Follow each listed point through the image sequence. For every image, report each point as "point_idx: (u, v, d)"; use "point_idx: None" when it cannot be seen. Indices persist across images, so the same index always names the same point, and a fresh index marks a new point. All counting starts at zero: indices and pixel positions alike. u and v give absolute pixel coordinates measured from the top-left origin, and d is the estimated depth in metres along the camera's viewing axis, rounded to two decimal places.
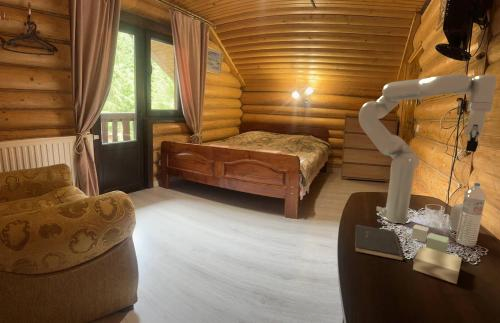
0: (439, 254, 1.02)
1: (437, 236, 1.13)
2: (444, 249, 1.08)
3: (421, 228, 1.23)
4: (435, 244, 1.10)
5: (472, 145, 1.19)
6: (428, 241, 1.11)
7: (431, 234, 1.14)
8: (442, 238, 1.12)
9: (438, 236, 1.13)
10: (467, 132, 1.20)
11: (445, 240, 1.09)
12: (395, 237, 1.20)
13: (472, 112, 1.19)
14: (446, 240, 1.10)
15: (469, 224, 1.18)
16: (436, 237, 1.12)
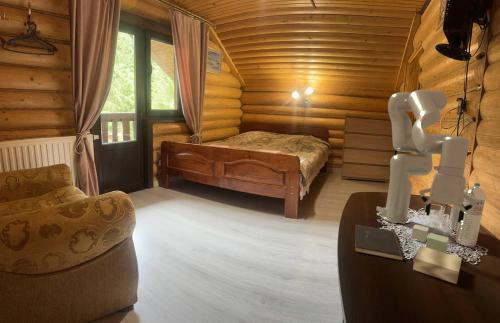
0: (439, 254, 1.02)
1: (437, 236, 1.13)
2: (444, 249, 1.08)
3: (421, 228, 1.23)
4: (435, 244, 1.10)
5: (463, 215, 1.06)
6: (428, 241, 1.11)
7: (431, 234, 1.14)
8: (442, 238, 1.12)
9: (438, 236, 1.13)
10: (462, 203, 1.04)
11: (445, 240, 1.09)
12: (395, 237, 1.20)
13: (464, 180, 1.03)
14: (446, 240, 1.10)
15: (469, 224, 1.18)
16: (436, 237, 1.12)
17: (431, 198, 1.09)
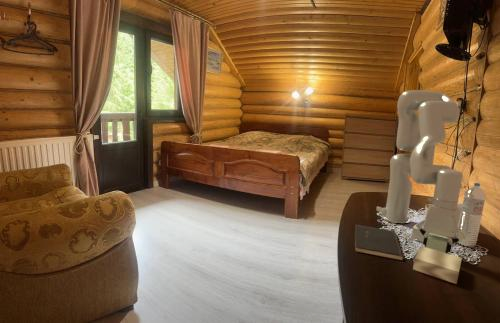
0: (439, 254, 1.02)
1: (437, 236, 1.13)
2: (444, 249, 1.08)
3: None
4: (435, 244, 1.10)
5: None
6: (428, 241, 1.11)
7: (431, 234, 1.14)
8: (442, 237, 1.11)
9: (438, 236, 1.13)
10: (455, 235, 1.06)
11: (445, 240, 1.09)
12: (395, 237, 1.20)
13: (457, 213, 1.06)
14: (446, 240, 1.10)
15: (469, 224, 1.18)
16: (436, 237, 1.12)
17: (425, 229, 1.12)
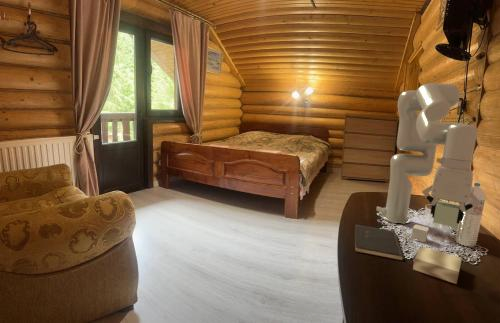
0: (439, 254, 1.02)
1: (447, 203, 0.98)
2: (455, 217, 0.93)
3: (421, 228, 1.23)
4: (445, 212, 0.95)
5: (463, 215, 0.95)
6: (437, 208, 0.96)
7: (440, 201, 0.99)
8: (453, 204, 0.96)
9: (448, 203, 0.98)
10: (468, 200, 0.91)
11: (457, 207, 0.94)
12: (394, 237, 1.20)
13: (471, 174, 0.91)
14: (458, 207, 0.94)
15: (469, 224, 1.18)
16: (446, 204, 0.97)
17: (433, 194, 0.97)
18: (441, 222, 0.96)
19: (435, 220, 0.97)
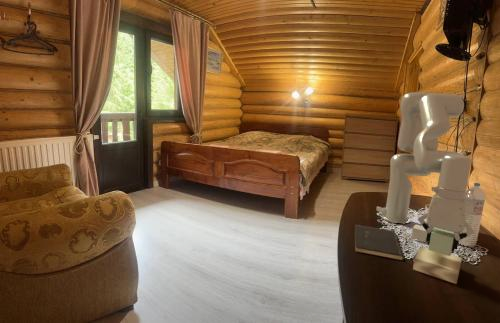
0: (439, 254, 1.02)
1: (442, 231, 0.99)
2: (450, 245, 0.95)
3: (421, 228, 1.23)
4: (440, 240, 0.96)
5: (457, 244, 0.96)
6: (432, 236, 0.98)
7: (435, 229, 1.01)
8: (448, 233, 0.98)
9: (443, 231, 0.99)
10: (463, 229, 0.93)
11: (452, 235, 0.96)
12: (394, 237, 1.20)
13: (465, 204, 0.92)
14: (452, 235, 0.96)
15: (469, 224, 1.18)
16: (441, 232, 0.99)
17: (428, 223, 0.98)
18: (436, 250, 0.97)
19: (430, 248, 0.98)
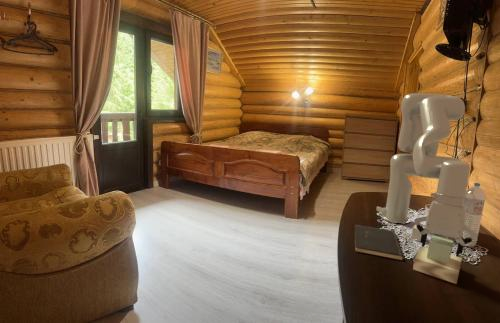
0: None
1: (440, 239, 1.00)
2: (448, 254, 0.96)
3: None
4: (438, 248, 0.97)
5: (462, 248, 0.96)
6: (430, 245, 0.98)
7: (433, 237, 1.02)
8: (446, 241, 0.99)
9: (441, 239, 1.00)
10: (461, 235, 0.93)
11: (450, 244, 0.97)
12: (394, 237, 1.20)
13: (464, 210, 0.93)
14: (450, 244, 0.97)
15: (469, 224, 1.18)
16: (439, 240, 0.99)
17: (427, 228, 0.99)
18: (434, 258, 0.98)
19: (428, 256, 0.99)
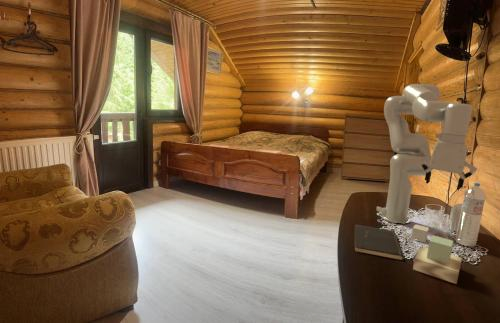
0: None
1: (440, 239, 1.00)
2: (448, 254, 0.96)
3: (421, 228, 1.23)
4: (438, 248, 0.97)
5: None
6: (430, 245, 0.98)
7: (433, 237, 1.02)
8: (446, 241, 0.99)
9: (441, 239, 1.00)
10: (462, 170, 1.04)
11: (450, 244, 0.97)
12: (394, 237, 1.20)
13: (465, 147, 1.03)
14: (450, 244, 0.97)
15: (469, 224, 1.18)
16: (439, 240, 0.99)
17: (431, 166, 1.10)
18: (434, 258, 0.98)
19: (428, 256, 0.99)
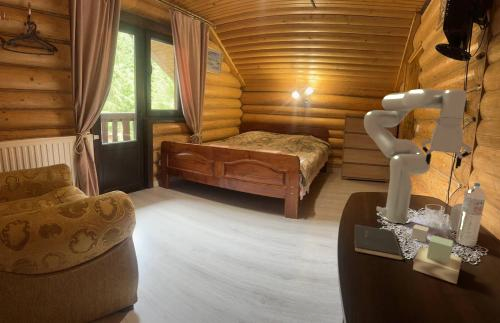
0: None
1: (440, 239, 1.00)
2: (448, 254, 0.96)
3: (421, 228, 1.23)
4: (438, 248, 0.97)
5: (460, 162, 1.17)
6: (430, 245, 0.98)
7: (433, 237, 1.02)
8: (446, 241, 0.99)
9: (441, 239, 1.00)
10: (459, 150, 1.15)
11: (450, 244, 0.97)
12: (394, 237, 1.20)
13: (461, 129, 1.14)
14: (450, 244, 0.97)
15: (469, 224, 1.18)
16: (439, 240, 0.99)
17: (431, 147, 1.20)
18: (434, 258, 0.98)
19: (428, 256, 0.99)
